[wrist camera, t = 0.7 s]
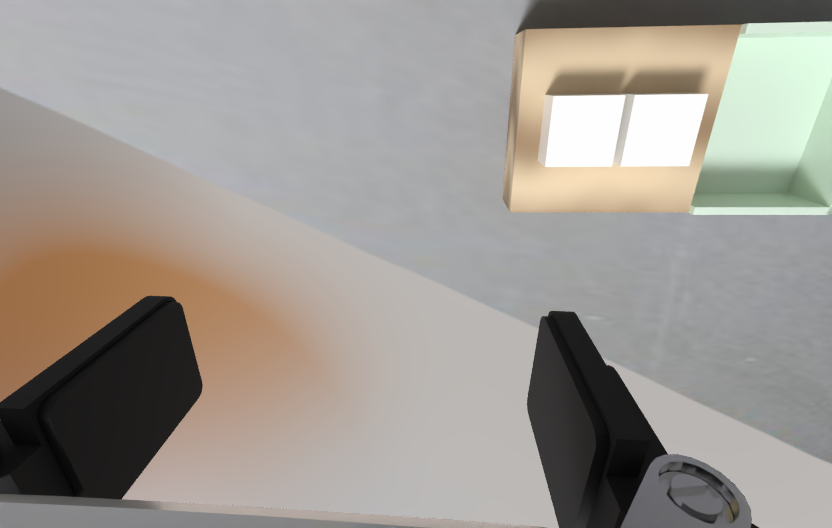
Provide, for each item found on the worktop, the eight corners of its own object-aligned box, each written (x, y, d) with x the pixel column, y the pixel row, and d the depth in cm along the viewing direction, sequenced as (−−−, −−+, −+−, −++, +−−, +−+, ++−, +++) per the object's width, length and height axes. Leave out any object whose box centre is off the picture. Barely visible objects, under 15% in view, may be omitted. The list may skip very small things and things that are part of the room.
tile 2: (620, 93, 24) (634, 94, 23) (688, 92, 24) (708, 93, 22) (607, 160, 26) (620, 166, 24) (671, 160, 26) (689, 166, 24)
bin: (704, 30, 26) (748, 23, 22) (852, 27, 25) (921, 19, 22) (662, 198, 30) (692, 214, 27) (786, 198, 30) (834, 214, 26)
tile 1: (545, 94, 25) (553, 95, 23) (611, 93, 24) (625, 94, 23) (537, 160, 26) (545, 167, 24) (600, 160, 26) (612, 166, 24)
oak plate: (515, 35, 26) (526, 29, 23) (704, 30, 26) (741, 24, 23) (502, 198, 31) (509, 212, 28) (662, 198, 30) (688, 212, 27)
